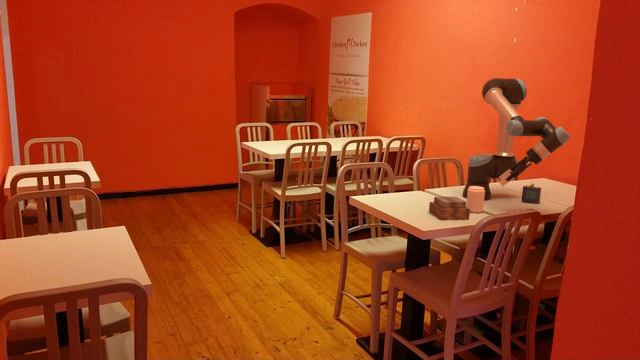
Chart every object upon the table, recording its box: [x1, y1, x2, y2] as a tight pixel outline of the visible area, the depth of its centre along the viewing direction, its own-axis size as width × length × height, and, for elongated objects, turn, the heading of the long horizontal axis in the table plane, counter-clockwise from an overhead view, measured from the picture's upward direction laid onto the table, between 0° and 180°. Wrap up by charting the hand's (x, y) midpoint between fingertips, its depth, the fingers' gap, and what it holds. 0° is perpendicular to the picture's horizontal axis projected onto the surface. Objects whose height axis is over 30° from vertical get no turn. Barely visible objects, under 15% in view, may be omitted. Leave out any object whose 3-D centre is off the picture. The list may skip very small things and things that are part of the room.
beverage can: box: [466, 186, 485, 214], centre depth 257 cm, size 8×8×12 cm
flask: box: [521, 182, 542, 205], centre depth 279 cm, size 9×3×11 cm, turn 74°
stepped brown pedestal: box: [428, 195, 471, 221], centre depth 247 cm, size 14×14×8 cm
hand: (500, 181), depth 252 cm, fingers open, 13 cm apart
